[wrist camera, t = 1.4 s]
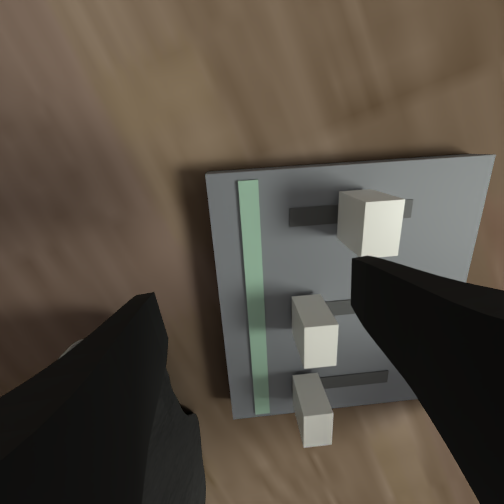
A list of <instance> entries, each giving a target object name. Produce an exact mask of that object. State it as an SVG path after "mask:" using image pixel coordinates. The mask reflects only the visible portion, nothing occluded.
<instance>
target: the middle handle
mask: <svg viewBox="0 0 504 504" xmlns="http://www.w3.org/2000/svg"><path fill="white" fill-rule="evenodd" d="M338 328H339V324H338V322H337V321H336V319H335V318H334V316H333V314H332V313H331V311H330V309H329V308H328V306H327V305H326V303H325V301H324V300H323V298H322V296H321V295H320V294H314V295H303V296H292V334H293V337H294V340H295V343H296V346H297V349H298V352H299V355H300V358H301V361H302V364H303V367H304V369H308V368H318V367H328V366H336V362H337V345H338Z"/></svg>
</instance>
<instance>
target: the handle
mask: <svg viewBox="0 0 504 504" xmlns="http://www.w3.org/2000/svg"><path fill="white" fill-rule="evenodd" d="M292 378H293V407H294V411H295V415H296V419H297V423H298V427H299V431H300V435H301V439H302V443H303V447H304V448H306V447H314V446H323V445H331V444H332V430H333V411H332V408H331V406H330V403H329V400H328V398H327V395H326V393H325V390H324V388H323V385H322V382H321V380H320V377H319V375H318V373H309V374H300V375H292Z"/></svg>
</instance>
